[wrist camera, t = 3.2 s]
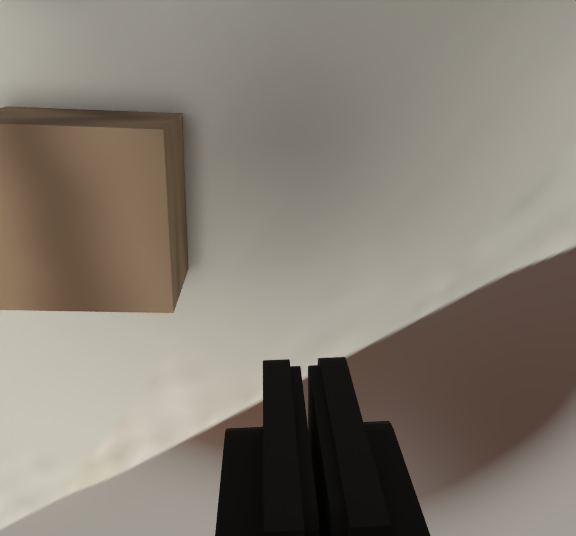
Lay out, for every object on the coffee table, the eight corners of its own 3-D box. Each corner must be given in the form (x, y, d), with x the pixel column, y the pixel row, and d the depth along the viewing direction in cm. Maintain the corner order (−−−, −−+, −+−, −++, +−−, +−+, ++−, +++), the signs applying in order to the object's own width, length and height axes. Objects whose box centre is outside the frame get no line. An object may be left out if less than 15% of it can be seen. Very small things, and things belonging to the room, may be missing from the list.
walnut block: (182, 112, 24) (163, 129, 20) (188, 267, 27) (173, 312, 23) (8, 106, 24) (-53, 121, 19) (35, 264, 27) (-12, 309, 22)
